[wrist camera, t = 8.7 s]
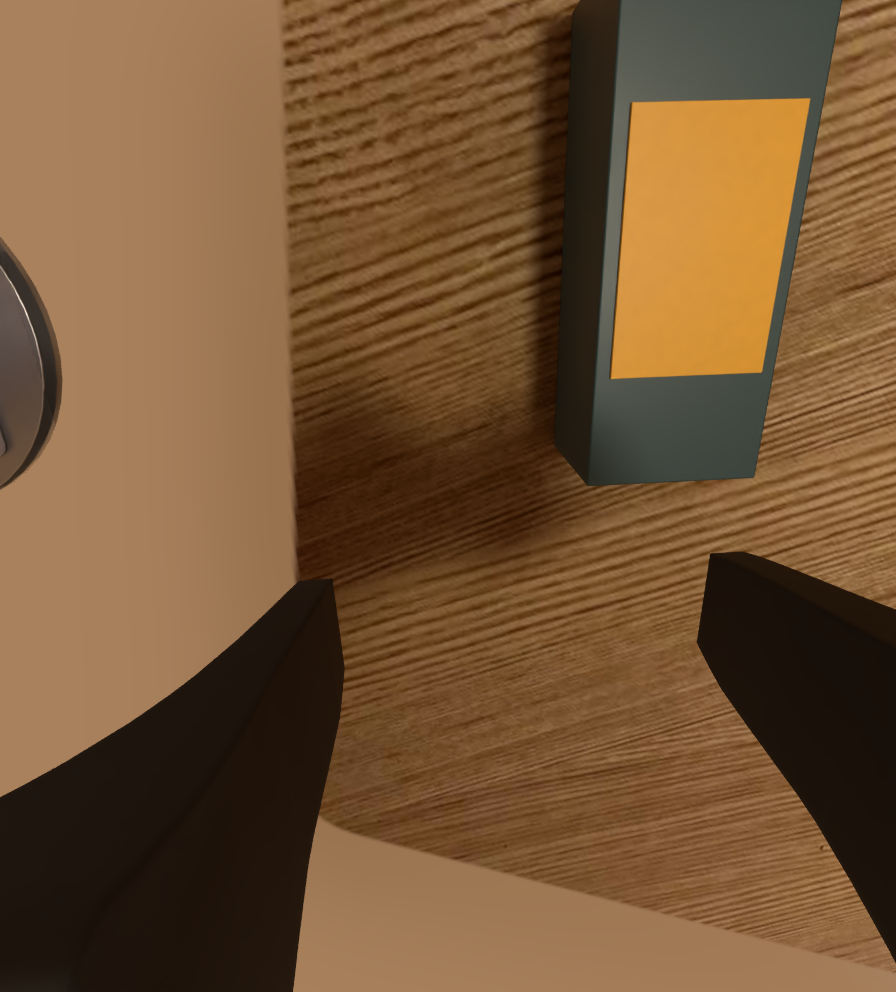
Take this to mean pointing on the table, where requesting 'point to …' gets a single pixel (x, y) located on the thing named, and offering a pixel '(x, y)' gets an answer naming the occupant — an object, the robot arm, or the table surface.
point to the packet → (682, 228)
